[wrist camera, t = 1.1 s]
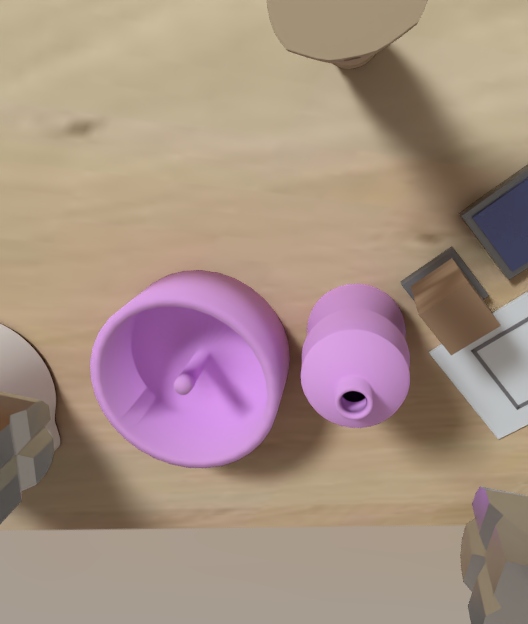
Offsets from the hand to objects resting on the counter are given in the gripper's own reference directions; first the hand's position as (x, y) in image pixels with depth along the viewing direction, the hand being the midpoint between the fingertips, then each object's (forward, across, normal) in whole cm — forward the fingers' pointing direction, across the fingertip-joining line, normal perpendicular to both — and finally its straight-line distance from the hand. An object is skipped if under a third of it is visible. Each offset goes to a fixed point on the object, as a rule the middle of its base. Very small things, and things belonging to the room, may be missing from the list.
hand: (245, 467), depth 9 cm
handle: (+31, +1, -10) cm, 33 cm away
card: (+31, -16, +11) cm, 37 cm away
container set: (+31, +6, +13) cm, 34 cm away
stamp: (+31, -8, +6) cm, 33 cm away
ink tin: (+31, -13, -1) cm, 34 cm away
